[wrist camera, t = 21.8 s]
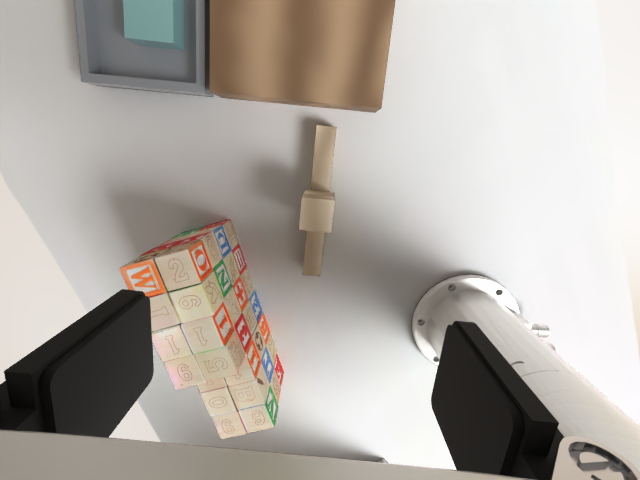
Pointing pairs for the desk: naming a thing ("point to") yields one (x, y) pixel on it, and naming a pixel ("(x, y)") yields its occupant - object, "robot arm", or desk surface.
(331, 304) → the desk surface
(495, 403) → the robot arm
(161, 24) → the teal block
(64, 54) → the desk surface
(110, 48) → the box
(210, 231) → the stack of blocks
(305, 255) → the scraper
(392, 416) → the desk surface
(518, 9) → the desk surface
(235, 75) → the brown wooden board
